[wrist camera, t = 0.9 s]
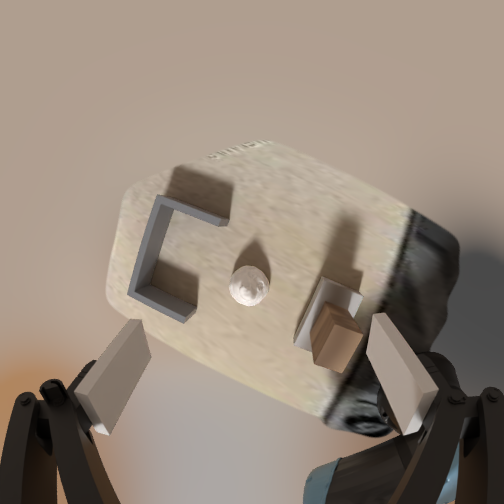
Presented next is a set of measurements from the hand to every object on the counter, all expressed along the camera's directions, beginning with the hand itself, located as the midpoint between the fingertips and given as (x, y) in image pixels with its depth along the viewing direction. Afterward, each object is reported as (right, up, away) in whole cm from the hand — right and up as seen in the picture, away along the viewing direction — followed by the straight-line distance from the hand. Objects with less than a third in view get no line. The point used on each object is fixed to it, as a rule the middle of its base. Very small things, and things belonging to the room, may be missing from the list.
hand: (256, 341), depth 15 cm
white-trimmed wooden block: (+10, -4, +25) cm, 27 cm away
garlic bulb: (-1, 0, +26) cm, 26 cm away
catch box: (-10, +4, +26) cm, 29 cm away
